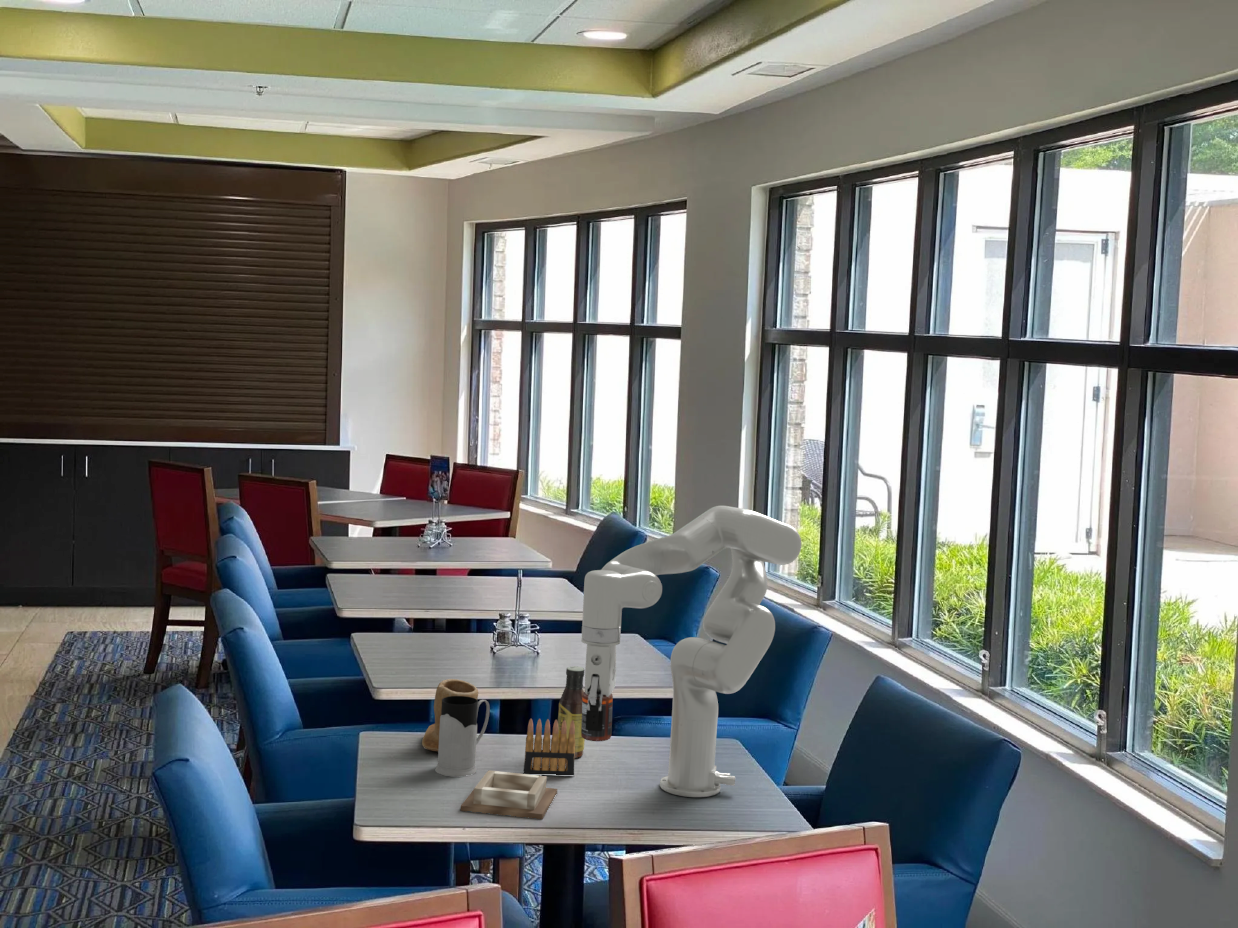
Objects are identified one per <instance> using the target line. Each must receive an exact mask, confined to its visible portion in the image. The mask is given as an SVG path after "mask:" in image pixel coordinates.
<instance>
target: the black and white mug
mask: <svg viewBox="0 0 1238 928" xmlns="http://www.w3.org/2000/svg"><path fill="white" fill-rule="evenodd" d="M483 702H484V703H485V706H486V708H485V709H486V711H485V717H484V723H483V726H482V728H481V731H480V733H479V735H478V723H477V721H478V712H479V707H480V706H481V704H482V703H483ZM490 710H491V709H490V703H489V701H487V700H486V699H480V700H479V701H478V699H475V698H472V697H466V696H450V697H445V698H443V699H442V708H441V716H440V730H439V749H438V751H437V753H438V754H437V764H436V767H435V772H436V773H437V774H439V775H440V776H441V775H442V776H446V777H453V778H454V777H457V778H459V777H461V776H463V777H467V776H466V775H470V776H472V775H471V774H473V775H475V774H476V773H477V772H478V769H477V766H476V758H477V757H476V756H477V745H478V744H479V742H480V741H481V739H482V737H483V735H484V734H485V731H486V729H487V725H488V722H489V717H490ZM477 735H478V736H477ZM475 772H476V773H475ZM474 773H475V774H474ZM461 778H462V777H461Z"/></svg>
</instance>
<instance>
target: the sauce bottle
mask: <svg viewBox="0 0 1238 928" xmlns="http://www.w3.org/2000/svg"><path fill="white" fill-rule="evenodd" d="M565 670H566V671H565V674H566V680H565V681H566V683H565V686H564V690H563V692H562V694H561V697H560V699H559V702H558V715H557V722H558V738H559V740H560V735H561V727H562V723H563V721H564V720H565V721H566V727H567V743H568V737H569V729H570V724H571V722H572V720H573V721H574V725H575V756H574V759H577V758H578V757H579V758H581V757H582V756H583V754H584V749H585V741H586V740H585V739H584V738H582V736H581V725H582V698H583V693H584V692H585V690H584V689H583V687H584V678H585V668H584V667H582V666H573V665H572V666H568V667H566V669H565ZM558 751H559V747H558ZM579 758H578V759H579Z"/></svg>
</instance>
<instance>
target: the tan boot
mask: <svg viewBox="0 0 1238 928" xmlns="http://www.w3.org/2000/svg"><path fill="white" fill-rule="evenodd" d="M450 696H466V697H472V698H475V699H477V700H478V698H479V697H478V696H479V690H478V688H477V687H476V686H475V685H474V684H472V683H471V682H468V681H465V680H462V679H457V678H448V679H444V680H442V681H440V682H439V684H438V685H437V687H436V690H435V695H434V701H433V713H434V723H432V724H431V725H429V726H428V728H427V729H426V730H425V732H424V735H423V737H422V740H421V745H422V747H423V748H424V749H425V750H429V751H431V752H432V751H433V752H438V749H439V730H440V716H441V708H442V699H443V698H445V697H450Z"/></svg>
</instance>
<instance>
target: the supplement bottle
mask: <svg viewBox="0 0 1238 928" xmlns="http://www.w3.org/2000/svg"><path fill="white" fill-rule="evenodd" d="M597 694H601V692H598V691H597ZM597 699H598V700H600V698H597ZM613 699H614V696H613V692H612V693H611V695H610V696H608V697H606V695H603V704H602V710H603V729H602V731H590V730H586V712H587V705H588V695H587V694H586V693H585V691H584V693H583V698H582V725H581V736H582V738H584V739H585V741H589V742H604V741H608V740H610V739H611V738H612V731H613V727H612V725H613Z"/></svg>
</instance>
